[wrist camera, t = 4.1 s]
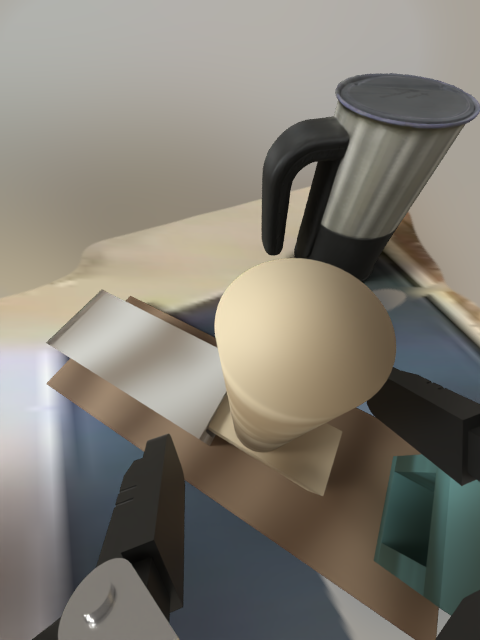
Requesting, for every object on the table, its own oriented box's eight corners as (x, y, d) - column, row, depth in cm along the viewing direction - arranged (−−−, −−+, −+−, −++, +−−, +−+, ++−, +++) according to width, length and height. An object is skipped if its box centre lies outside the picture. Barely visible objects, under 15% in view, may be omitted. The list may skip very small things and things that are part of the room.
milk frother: (339, 223, 32) (403, 63, 19) (439, 311, 25) (648, 148, 12) (244, 259, 29) (245, 95, 16) (327, 374, 21) (452, 241, 9)
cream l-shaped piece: (96, 361, 20) (-162, 175, 7) (125, 329, 21) (-45, 129, 9) (307, 490, 15) (630, 610, 3) (324, 437, 17) (580, 349, 4)
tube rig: (58, 388, 21) (-16, 357, 15) (136, 304, 25) (103, 254, 19) (416, 635, 14) (555, 770, 8) (436, 455, 18) (532, 450, 12)
